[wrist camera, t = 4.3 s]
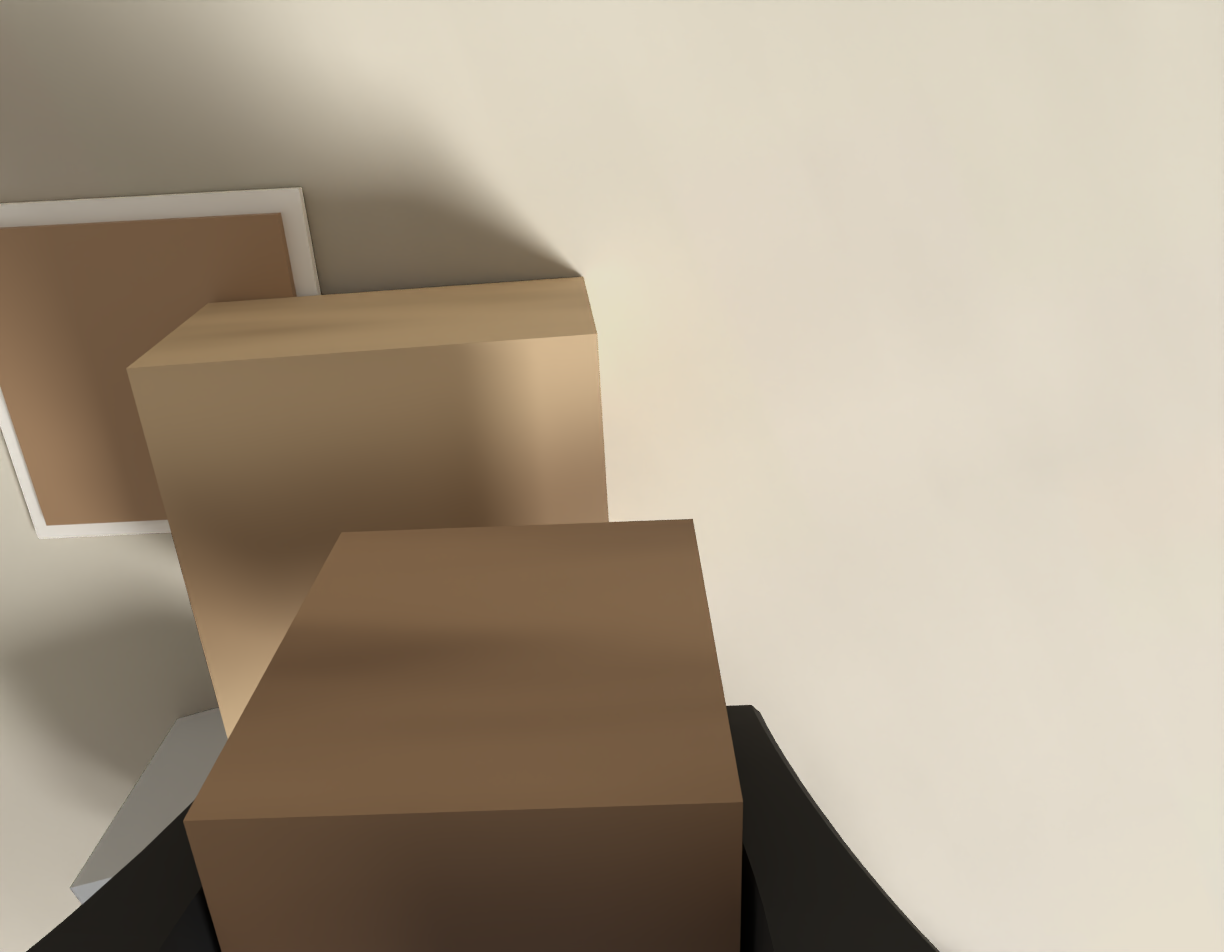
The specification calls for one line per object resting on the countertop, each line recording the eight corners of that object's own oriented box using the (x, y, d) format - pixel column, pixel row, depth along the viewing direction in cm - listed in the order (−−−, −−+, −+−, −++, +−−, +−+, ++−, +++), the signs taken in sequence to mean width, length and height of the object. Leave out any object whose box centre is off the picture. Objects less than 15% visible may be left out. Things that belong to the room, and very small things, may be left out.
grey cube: (429, 811, 24) (386, 993, 19) (263, 853, 24) (185, 1040, 20) (354, 668, 22) (288, 831, 17) (178, 717, 22) (69, 888, 18)
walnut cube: (695, 792, 14) (736, 1151, 9) (388, 802, 14) (285, 1165, 10) (691, 519, 12) (743, 802, 8) (341, 532, 12) (182, 820, 8)
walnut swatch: (361, 519, 20) (356, 527, 20) (43, 534, 20) (32, 543, 20) (301, 187, 17) (295, 189, 17) (-67, 206, 18) (-81, 210, 17)
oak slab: (603, 593, 21) (619, 707, 17) (281, 621, 21) (228, 744, 17) (583, 276, 18) (596, 333, 14) (208, 303, 18) (126, 368, 14)
